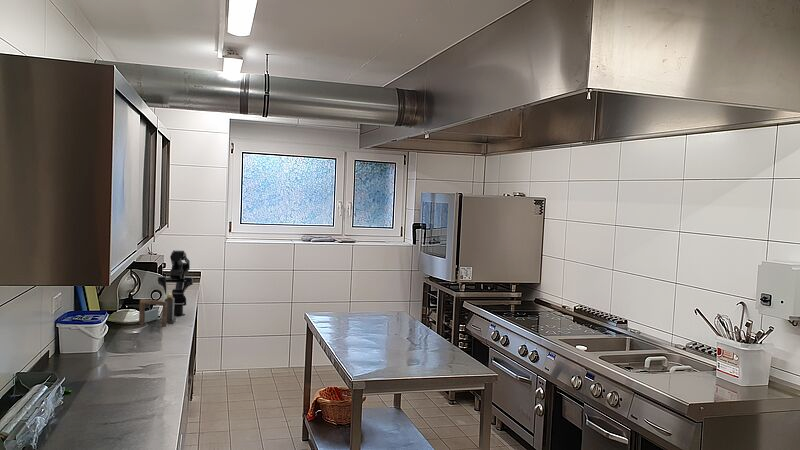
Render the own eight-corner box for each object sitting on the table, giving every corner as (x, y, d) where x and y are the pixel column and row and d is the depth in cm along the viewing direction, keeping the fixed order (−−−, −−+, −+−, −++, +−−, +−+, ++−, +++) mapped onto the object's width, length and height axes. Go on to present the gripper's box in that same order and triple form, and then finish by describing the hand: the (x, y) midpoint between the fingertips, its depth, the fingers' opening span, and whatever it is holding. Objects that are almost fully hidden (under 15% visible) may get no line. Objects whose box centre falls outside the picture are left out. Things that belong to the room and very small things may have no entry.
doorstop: (164, 321, 345) (165, 292, 344) (175, 321, 345) (176, 292, 345) (162, 323, 339) (162, 294, 338) (173, 323, 339) (174, 294, 339)
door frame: (141, 323, 337) (142, 299, 336) (166, 326, 333) (167, 301, 333) (139, 324, 335) (139, 299, 334) (164, 326, 331) (165, 302, 331)
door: (144, 322, 337) (144, 312, 337) (142, 322, 338) (142, 312, 337) (157, 318, 349) (158, 308, 349) (156, 318, 349) (156, 308, 349)
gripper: (158, 262, 343) (154, 287, 335) (192, 263, 348) (190, 288, 340) (160, 271, 353) (157, 296, 345) (193, 272, 357) (191, 296, 349)
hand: (174, 294), depth 344 cm, fingers open, 9 cm apart
